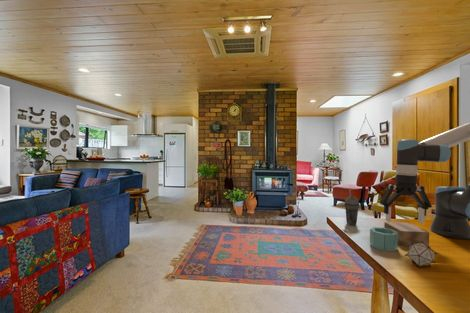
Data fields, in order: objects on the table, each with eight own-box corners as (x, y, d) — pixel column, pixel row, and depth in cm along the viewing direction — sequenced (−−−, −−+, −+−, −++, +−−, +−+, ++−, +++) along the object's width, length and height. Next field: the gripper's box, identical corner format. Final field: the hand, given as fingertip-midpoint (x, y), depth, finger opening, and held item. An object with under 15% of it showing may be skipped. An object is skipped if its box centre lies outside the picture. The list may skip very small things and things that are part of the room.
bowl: (389, 243, 100) (389, 227, 100) (401, 252, 91) (401, 235, 91) (366, 242, 101) (367, 226, 101) (377, 251, 92) (377, 234, 92)
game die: (415, 276, 81) (395, 251, 82) (419, 260, 86) (400, 237, 88) (444, 274, 74) (422, 246, 76) (446, 256, 80) (426, 231, 81)
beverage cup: (361, 227, 122) (361, 189, 122) (346, 226, 123) (346, 188, 123) (356, 223, 129) (357, 187, 129) (342, 222, 130) (343, 187, 130)
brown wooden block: (409, 235, 109) (409, 222, 109) (429, 246, 97) (429, 232, 96) (384, 234, 111) (384, 221, 111) (400, 245, 98) (400, 231, 98)
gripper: (430, 174, 105) (428, 221, 106) (372, 172, 108) (370, 218, 109) (443, 176, 98) (441, 226, 98) (380, 174, 101) (378, 222, 101)
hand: (404, 222), depth 104 cm, fingers open, 13 cm apart
